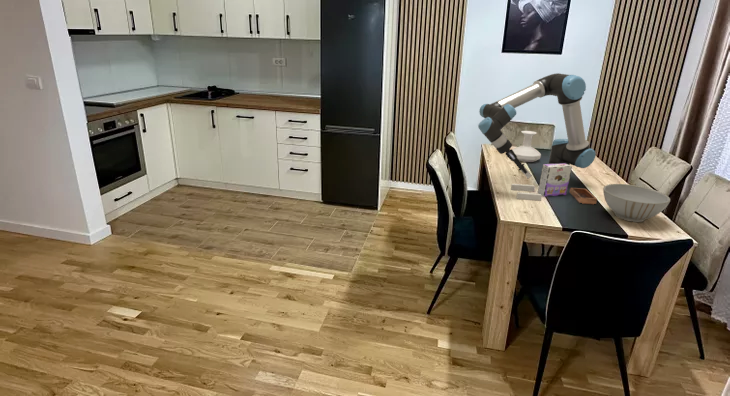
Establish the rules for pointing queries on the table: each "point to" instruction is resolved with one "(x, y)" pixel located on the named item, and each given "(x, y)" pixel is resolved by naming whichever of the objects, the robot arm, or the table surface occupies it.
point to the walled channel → (526, 195)
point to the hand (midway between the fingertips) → (529, 176)
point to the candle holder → (527, 149)
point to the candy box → (554, 179)
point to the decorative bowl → (634, 201)
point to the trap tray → (583, 196)
